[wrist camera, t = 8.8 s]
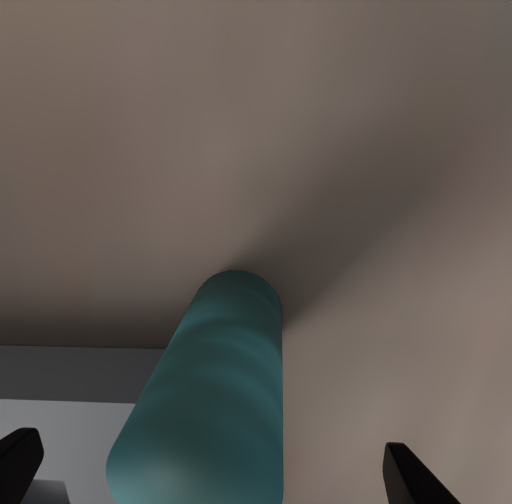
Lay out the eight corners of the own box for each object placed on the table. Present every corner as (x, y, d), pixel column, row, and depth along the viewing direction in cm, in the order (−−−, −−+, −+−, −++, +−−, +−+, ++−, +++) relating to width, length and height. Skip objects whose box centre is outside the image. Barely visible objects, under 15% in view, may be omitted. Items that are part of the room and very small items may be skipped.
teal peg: (282, 270, 14) (284, 418, 7) (281, 351, 15) (282, 551, 8) (189, 270, 15) (91, 411, 7) (196, 349, 16) (120, 540, 8)
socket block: (176, 349, 16) (148, 404, 13) (198, 547, 20) (182, 627, 17) (-97, 343, 17) (-189, 392, 14) (-19, 533, 21) (-74, 605, 18)
